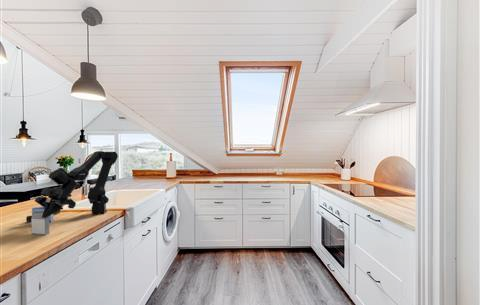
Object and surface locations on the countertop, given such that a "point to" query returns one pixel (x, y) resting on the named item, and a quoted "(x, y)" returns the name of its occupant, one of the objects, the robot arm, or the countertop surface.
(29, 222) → the hand tool
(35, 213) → the medicine box
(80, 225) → the countertop surface
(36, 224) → the tile
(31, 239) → the countertop surface
